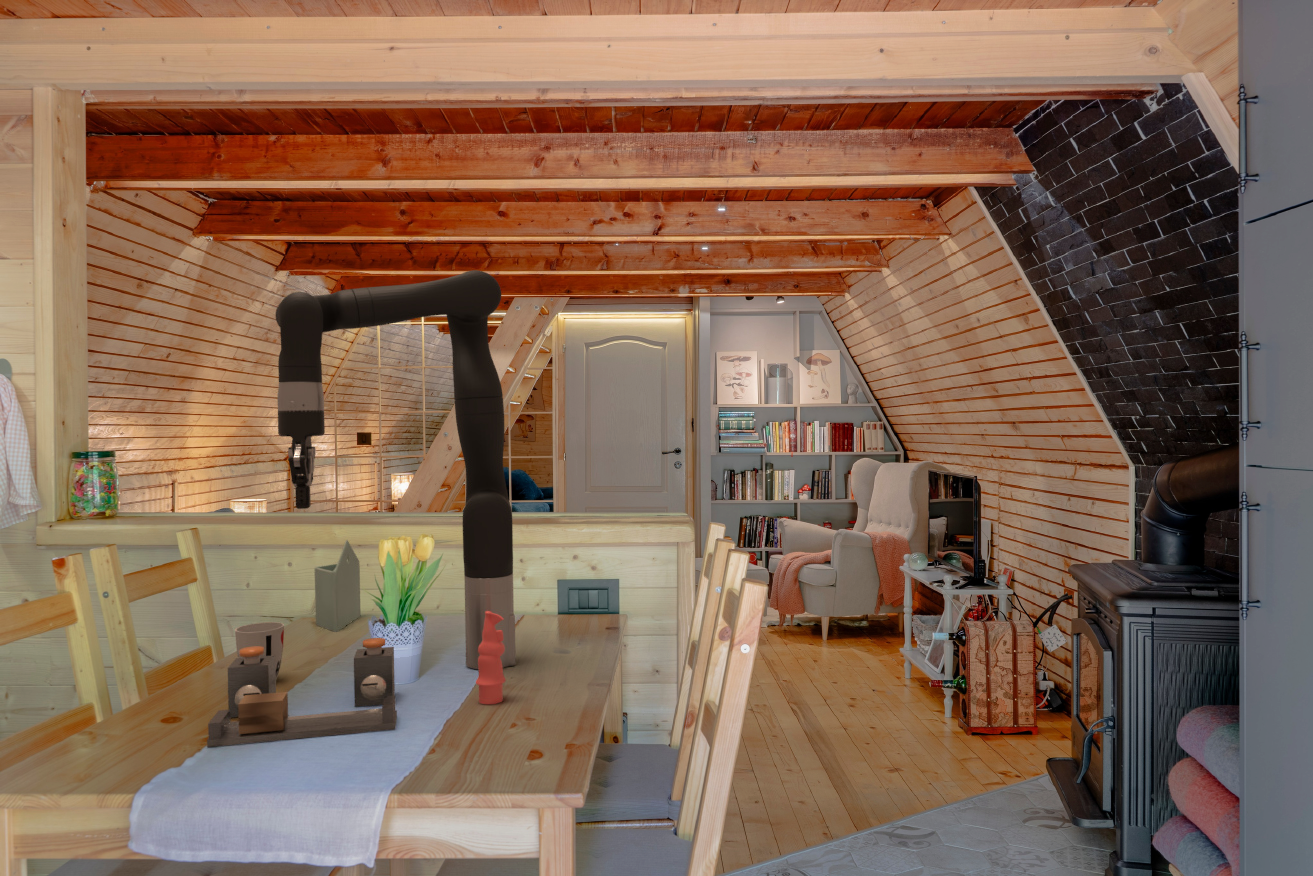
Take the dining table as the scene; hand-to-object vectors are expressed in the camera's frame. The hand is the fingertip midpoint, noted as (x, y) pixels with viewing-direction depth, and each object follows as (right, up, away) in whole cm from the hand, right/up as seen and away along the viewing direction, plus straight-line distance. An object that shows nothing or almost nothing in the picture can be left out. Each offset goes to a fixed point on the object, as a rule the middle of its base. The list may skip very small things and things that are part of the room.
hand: (303, 508), depth 152 cm
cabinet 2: (+14, -32, -5) cm, 35 cm away
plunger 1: (-4, -26, -10) cm, 28 cm away
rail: (+9, -32, -20) cm, 39 cm away
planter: (-14, -32, +52) cm, 63 cm away
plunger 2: (+14, -26, -5) cm, 30 cm away
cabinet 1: (-4, -32, -10) cm, 34 cm away
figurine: (+34, -32, -7) cm, 47 cm away
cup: (-10, -32, +6) cm, 34 cm away
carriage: (+3, -31, -22) cm, 38 cm away
